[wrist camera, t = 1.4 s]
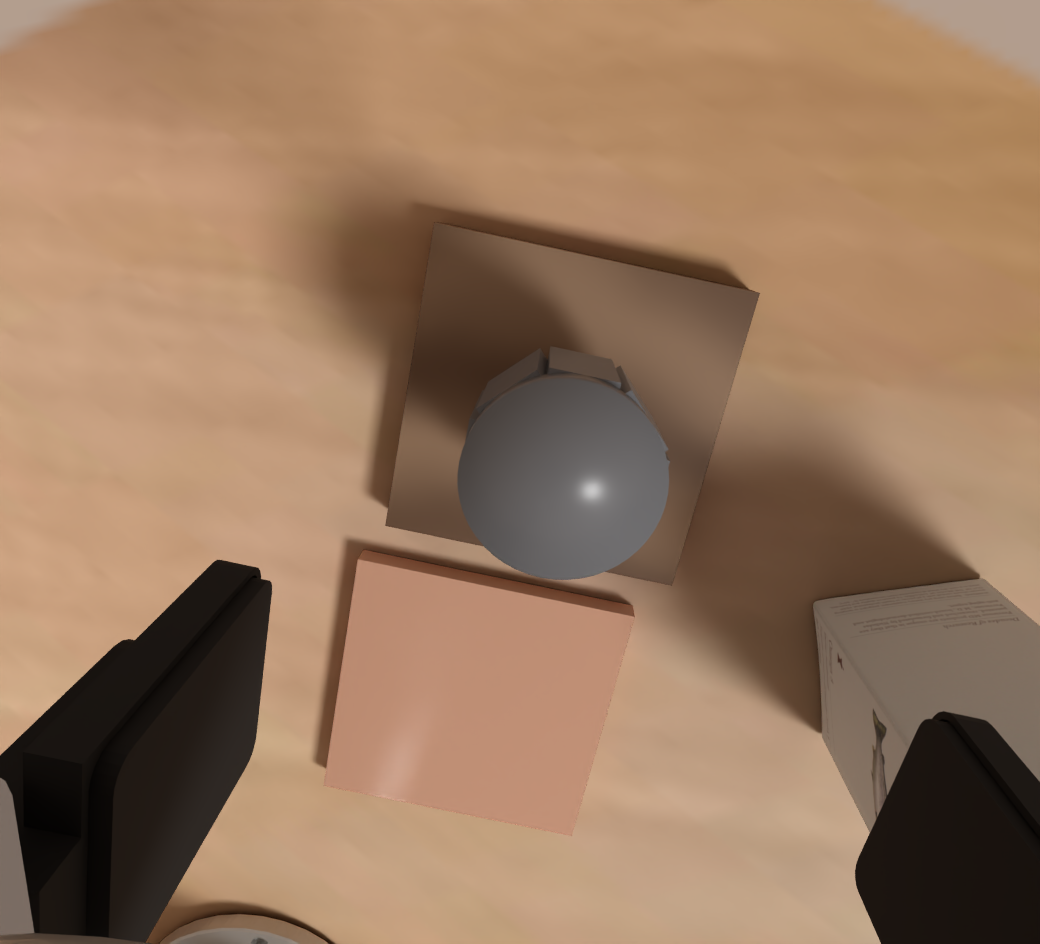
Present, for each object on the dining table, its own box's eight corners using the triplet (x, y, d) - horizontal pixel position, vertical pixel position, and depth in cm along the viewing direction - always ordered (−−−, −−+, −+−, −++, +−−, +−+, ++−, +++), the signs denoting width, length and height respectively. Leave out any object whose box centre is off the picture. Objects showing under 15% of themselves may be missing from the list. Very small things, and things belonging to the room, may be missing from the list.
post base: (666, 569, 32) (702, 683, 24) (392, 512, 32) (337, 608, 24) (749, 289, 29) (825, 314, 21) (440, 222, 28) (393, 221, 20)
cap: (624, 532, 27) (639, 597, 22) (461, 498, 27) (441, 556, 22) (668, 371, 25) (694, 405, 21) (493, 333, 25) (478, 359, 20)
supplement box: (807, 596, 33) (953, 813, 21) (986, 574, 32) (1246, 785, 20) (815, 739, 35) (952, 1010, 23) (983, 721, 34) (1216, 991, 22)
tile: (571, 820, 37) (571, 835, 36) (329, 771, 37) (323, 785, 36) (632, 605, 33) (634, 616, 32) (363, 549, 33) (357, 559, 32)
